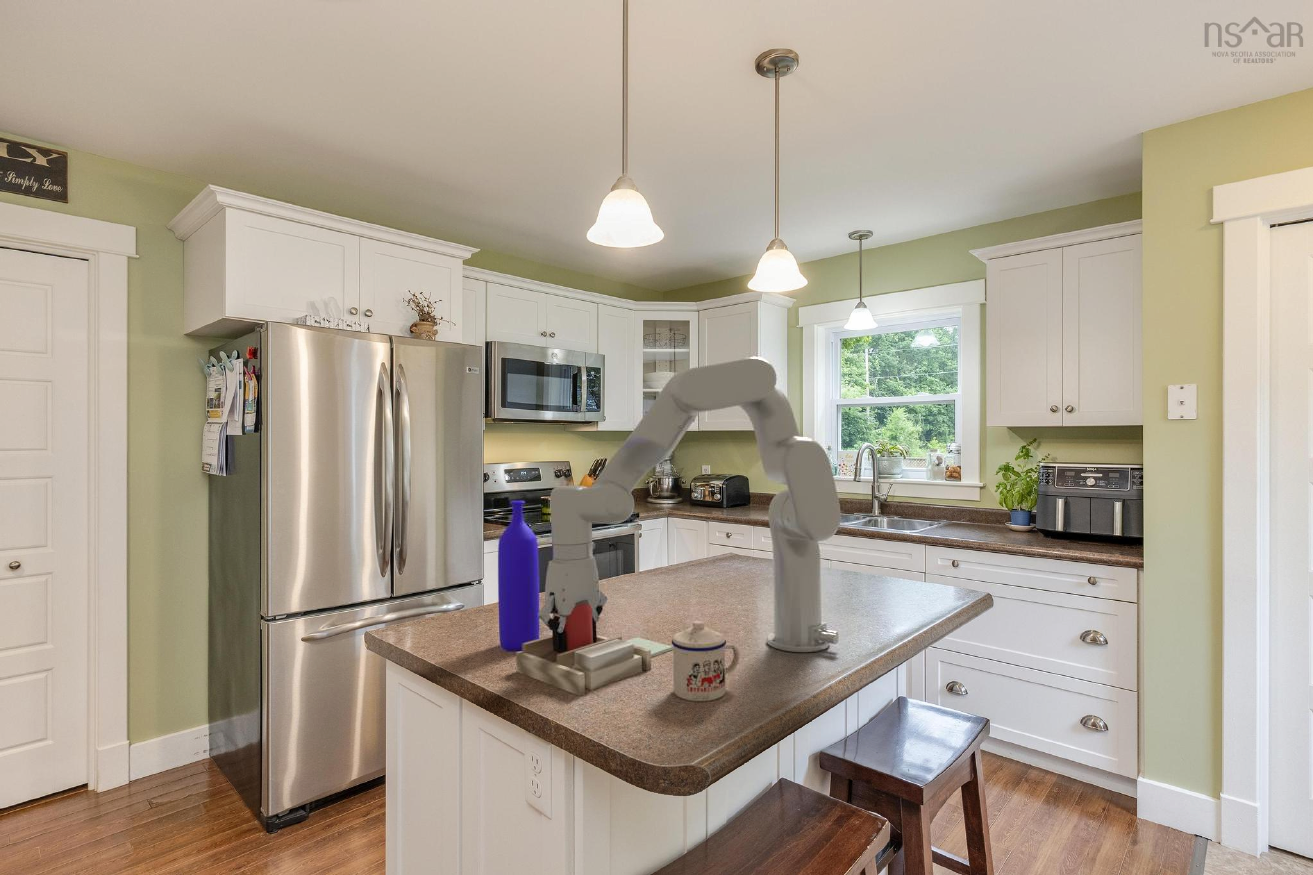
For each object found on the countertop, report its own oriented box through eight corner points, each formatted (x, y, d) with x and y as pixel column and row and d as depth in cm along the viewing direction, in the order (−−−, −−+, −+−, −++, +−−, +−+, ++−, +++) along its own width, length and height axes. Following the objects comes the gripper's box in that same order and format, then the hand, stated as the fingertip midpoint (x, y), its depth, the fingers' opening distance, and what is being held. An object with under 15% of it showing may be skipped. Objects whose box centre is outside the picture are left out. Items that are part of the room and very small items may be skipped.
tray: (651, 668, 122) (650, 641, 122) (580, 695, 110) (579, 665, 110) (586, 649, 134) (586, 624, 134) (516, 671, 122) (516, 644, 122)
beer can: (587, 670, 120) (585, 604, 120) (552, 669, 122) (551, 603, 122) (597, 658, 127) (595, 595, 127) (565, 657, 128) (563, 595, 128)
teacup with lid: (686, 706, 105) (685, 632, 105) (664, 687, 113) (662, 618, 113) (752, 694, 109) (751, 623, 109) (726, 676, 118) (725, 610, 118)
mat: (672, 649, 133) (672, 646, 133) (637, 662, 126) (637, 659, 126) (637, 640, 140) (637, 637, 140) (602, 651, 133) (602, 648, 133)
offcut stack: (641, 672, 121) (641, 642, 121) (591, 691, 112) (590, 658, 112) (623, 666, 124) (622, 637, 125) (572, 683, 116) (572, 652, 116)
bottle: (547, 642, 140) (545, 499, 140) (524, 654, 132) (521, 503, 132) (515, 638, 143) (513, 498, 143) (490, 649, 135) (488, 502, 136)
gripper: (593, 543, 133) (596, 632, 133) (522, 556, 121) (525, 655, 120) (619, 547, 128) (622, 639, 128) (547, 561, 115) (550, 663, 115)
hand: (575, 646), depth 124 cm, fingers closed on beer can, 6 cm apart
